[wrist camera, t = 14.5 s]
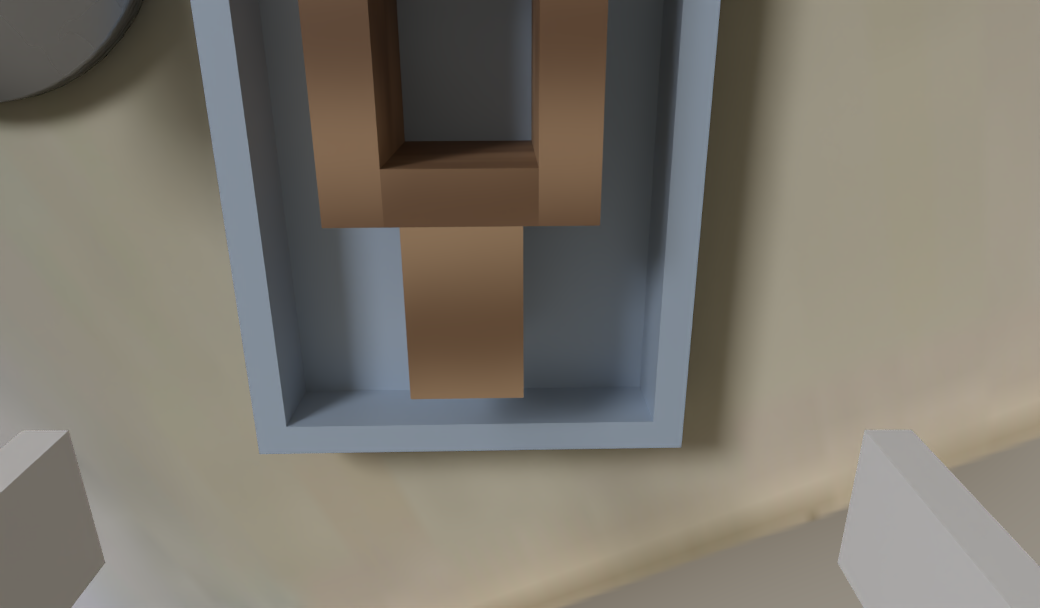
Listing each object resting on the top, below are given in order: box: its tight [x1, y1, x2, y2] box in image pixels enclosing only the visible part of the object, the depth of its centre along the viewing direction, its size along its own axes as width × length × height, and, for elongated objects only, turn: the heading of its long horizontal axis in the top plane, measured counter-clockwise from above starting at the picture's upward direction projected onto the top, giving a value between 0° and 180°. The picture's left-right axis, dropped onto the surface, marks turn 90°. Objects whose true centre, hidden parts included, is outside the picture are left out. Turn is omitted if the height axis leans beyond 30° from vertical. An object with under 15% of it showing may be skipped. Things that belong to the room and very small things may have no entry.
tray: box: [190, 0, 721, 454], centre depth 22 cm, size 14×21×3 cm, turn 0°
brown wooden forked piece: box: [298, 0, 608, 399], centre depth 20 cm, size 16×7×5 cm, turn 0°
